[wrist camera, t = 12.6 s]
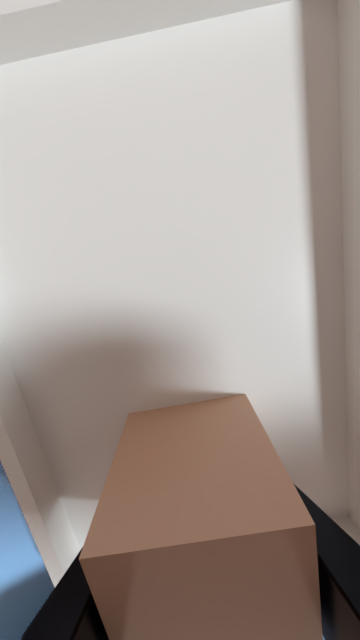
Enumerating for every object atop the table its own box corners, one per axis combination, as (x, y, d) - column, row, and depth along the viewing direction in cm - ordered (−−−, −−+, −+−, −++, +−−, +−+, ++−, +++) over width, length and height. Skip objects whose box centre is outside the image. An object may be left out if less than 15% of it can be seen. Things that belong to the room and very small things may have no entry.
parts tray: (348, -26, 6) (401, -115, 5) (355, 516, 10) (385, 556, 9) (-107, 76, 7) (-187, 23, 5) (76, 557, 11) (60, 602, 9)
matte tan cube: (245, 393, 9) (315, 524, 4) (257, 488, 10) (324, 675, 5) (128, 413, 9) (79, 559, 4) (152, 504, 10) (131, 699, 5)
